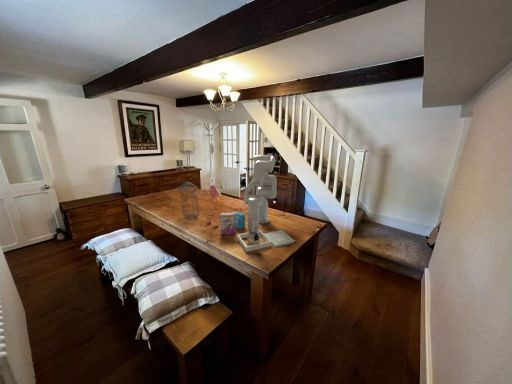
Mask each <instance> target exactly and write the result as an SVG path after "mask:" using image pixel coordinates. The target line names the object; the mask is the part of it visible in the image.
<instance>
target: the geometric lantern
mask: <svg viewBox="0 0 512 384" xmlns="http://www.w3.org/2000/svg"><path fill="white" fill-rule="evenodd" d="M191 186H192V187H193V188H192V187H191ZM199 188H200V187H198V186H197V185H195V184H193V183H191V182H189V181H184V182H183V183H182V184H181V185H179V186H177V187H176V189H177V190H178V191H179V193H180V194H181V195H180V200H181V201H180V202H182V205H181V213H182V214H183V216H184V217H185V218H186V219H188V220H190V219H191V220H193V219H196V218H198V215H200V208H199V203H198V201H197V200H198V198H197V197H198V196H197V194H196V193H195V192H196V191H197V190H198V189H199ZM184 193H186V194H184ZM185 195H186V197H184V196H185ZM189 195H191V196H190V197H188V196H189ZM187 199H192V200H191V206H192V209H189V207H188V201H187ZM193 203H194V204H193ZM185 205H186V208H185ZM194 205H195V206H194ZM186 209H187V210H186ZM190 211H193V212H191V213H189V212H190ZM195 212H197V213H195ZM191 214H192V215H191ZM193 217H194V218H193Z"/></svg>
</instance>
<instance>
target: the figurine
mask: <svg viewBox="0 0 512 384" xmlns="http://www.w3.org/2000/svg"><path fill="white" fill-rule="evenodd" d="M203 192H204V194H208V192H209V194H210V195H209V197H204V199H206V200H208V201H209V202H210V203H212V204H211V205H212V206H210V208H208V209H207V211H206V213H207V217H206V220H207V221H206V223H205V224H206V225H207V224H208V222H211V221H212V218H211V217H210V216H209V213H208V211H209V210H212V211H213V217H214V218H213V223H212V225H211V227H212V228H213V227H214V224H216V225H218V226H220V224H219V223H218V222H217V221H216V216H215V215H216V214H215V210H214V207H213V206H214V202H215V201H214V199H215V200H218V201H219V202H220V203H222V201H221V199H219V198H218V194H219V190H217V187H216V184H210V186H209V189H208V190H207V189H206V188H204V189H203ZM210 198H211V199H210ZM218 220H220V218H218Z"/></svg>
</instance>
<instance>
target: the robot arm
mask: <svg viewBox="0 0 512 384" xmlns="http://www.w3.org/2000/svg"><path fill="white" fill-rule="evenodd" d="M253 163H254V164H253V171H252V177H251V178H252V180H251V181H250V182H249V183H248V184H247V186H246V187H245V190H244V194H243V195H244V196H243V203H244V204H246V205H247V212H248V213H247V228H248V232H250V231H251V232H252V233H253V232H254V241H257V240H259V230H260V224H267V223H269V222H270V218H269V201H268V200H267V199H275V198H276V197H277V194H278V193H277V192H278V191H277V190H278V189H277V186H278V183H277V182H278V180H277V176H276V175H274V174H269V173H272V172H273V171H274V167H275V165H276V157H275V155H271V154H268V155H267V154H266V155H265V154H257V155H254V156H253ZM258 185H259V186H258ZM256 186H258V187H257V188H256V193H255V194H252V193H250V191H251V189H253V188H254V187H256ZM255 232H257V233H255Z"/></svg>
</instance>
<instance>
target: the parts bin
mask: <svg viewBox="0 0 512 384" xmlns="http://www.w3.org/2000/svg"><path fill="white" fill-rule="evenodd" d="M259 232H260V238H262V239H263V240H264V242H260V243H257V244H253V245H247V244H246V243H245V241H244V240H243V239H246V238H247V232H244V233H239V234H238V233H237V235H236V236H237V240H238V242H239V243H240V245H241V246H242V248H243V249H244V252H246V253H247V252H248V253H249V252H251V251H256V250H259V249H264V248H268V247H271V246H272V244H271V241H270V240H269V239H268V238H267V237H266V236H265V235H264V234H265V233H263V232H262V230H260V229H259Z"/></svg>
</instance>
